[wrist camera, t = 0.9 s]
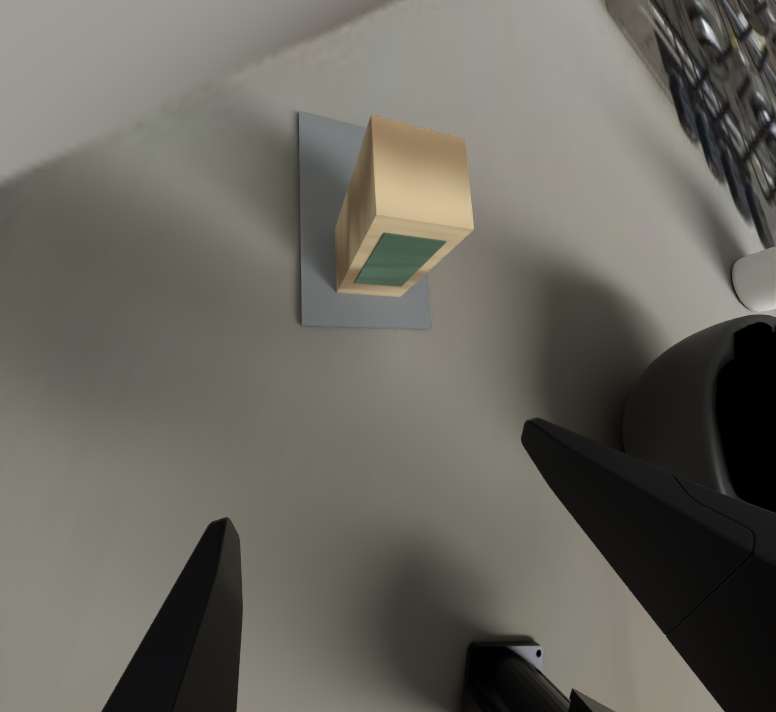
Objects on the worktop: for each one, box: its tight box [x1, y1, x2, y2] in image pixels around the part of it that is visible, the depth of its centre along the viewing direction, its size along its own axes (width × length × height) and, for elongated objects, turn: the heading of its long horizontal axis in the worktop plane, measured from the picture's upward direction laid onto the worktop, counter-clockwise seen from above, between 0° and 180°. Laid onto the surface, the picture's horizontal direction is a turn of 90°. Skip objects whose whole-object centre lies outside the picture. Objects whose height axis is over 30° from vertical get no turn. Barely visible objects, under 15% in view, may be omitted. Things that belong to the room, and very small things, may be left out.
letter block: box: [335, 114, 474, 297], centre depth 20 cm, size 5×5×10 cm
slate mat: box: [299, 112, 431, 330], centre depth 25 cm, size 17×10×1 cm, turn 2°
